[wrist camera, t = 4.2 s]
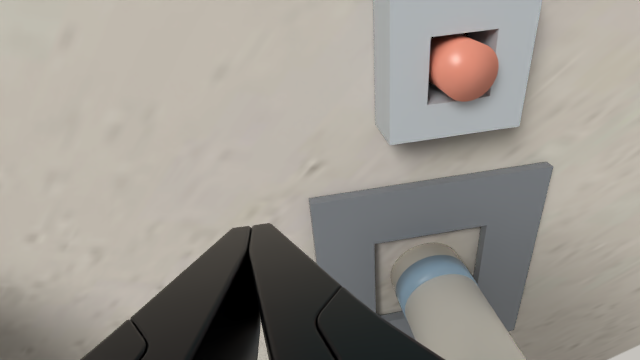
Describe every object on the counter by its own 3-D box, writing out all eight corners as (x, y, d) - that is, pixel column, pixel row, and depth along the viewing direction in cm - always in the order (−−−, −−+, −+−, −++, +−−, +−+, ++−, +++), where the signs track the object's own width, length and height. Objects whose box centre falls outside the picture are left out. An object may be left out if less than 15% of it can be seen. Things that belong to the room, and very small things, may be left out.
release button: (419, 87, 19) (440, 105, 17) (421, 34, 18) (444, 46, 16) (467, 80, 19) (494, 97, 17) (472, 28, 18) (502, 39, 16)
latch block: (375, 124, 21) (389, 145, 19) (372, -11, 17) (390, -5, 15) (492, 107, 21) (519, 126, 19) (511, -26, 18) (546, -22, 16)
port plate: (327, 357, 30) (329, 364, 29) (308, 198, 22) (310, 204, 22) (509, 323, 31) (513, 330, 30) (546, 161, 24) (553, 166, 23)
